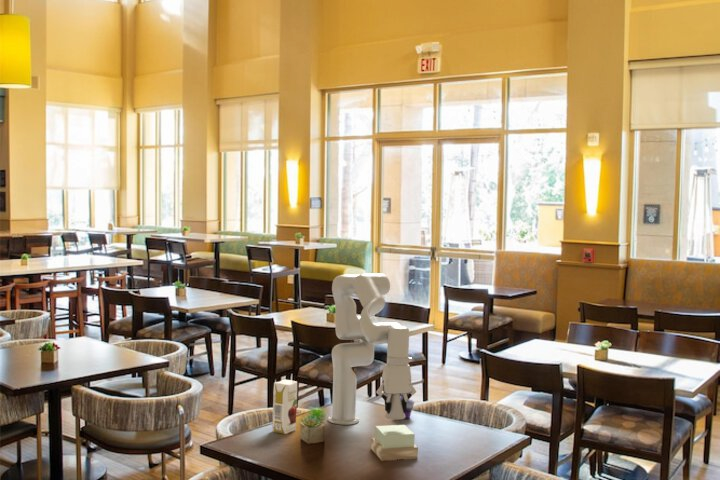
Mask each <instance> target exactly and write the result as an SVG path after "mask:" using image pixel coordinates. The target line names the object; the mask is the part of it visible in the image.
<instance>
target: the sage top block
mask: <svg viewBox="0 0 720 480" xmlns="http://www.w3.org/2000/svg"><path fill="white" fill-rule="evenodd" d="M415 435H416V434H415V433H414V432H413V431H412V430H411V429H410V428H409V427H408V426H407V425H406V424H391V425H389V424H388V425H375V429H374V438H375V439H376V440H377V441H378V442H379V443H380V445H381V446H382V447H383V448H400V447H414V444H415V438H416V437H415Z"/></svg>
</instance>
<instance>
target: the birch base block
mask: <svg viewBox="0 0 720 480" xmlns="http://www.w3.org/2000/svg"><path fill="white" fill-rule="evenodd" d="M370 439H371V442H370V443H371V444H370V447H371V448H370V449H371V450H372V452H373V453H374V454H375V455H376V456H377V458H379V459H380V461H381V462H383V461H385V460H386V461H398V460H399V459H404V460H416V459H415V458H417V459H418V457H419V456H418V454H419V453H418V451H419V447H418V446H417V445H416V444H415V443H414V447H400V448H383V447H382V446H381V445H380V443H379V442H378V441H377V440H376V439H375V437H371V438H370ZM397 459H398V460H397ZM386 461H385V462H386ZM399 461H400V460H399Z"/></svg>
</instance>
